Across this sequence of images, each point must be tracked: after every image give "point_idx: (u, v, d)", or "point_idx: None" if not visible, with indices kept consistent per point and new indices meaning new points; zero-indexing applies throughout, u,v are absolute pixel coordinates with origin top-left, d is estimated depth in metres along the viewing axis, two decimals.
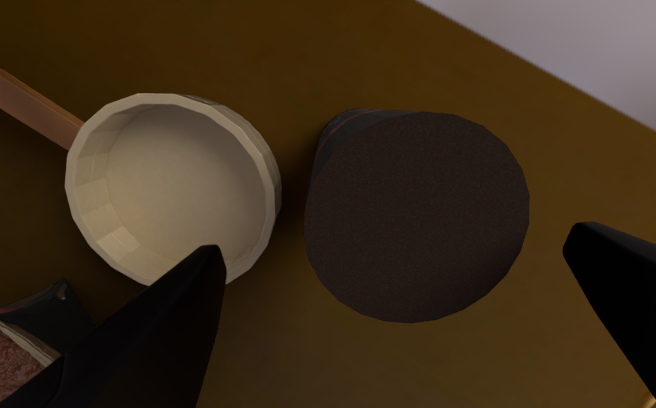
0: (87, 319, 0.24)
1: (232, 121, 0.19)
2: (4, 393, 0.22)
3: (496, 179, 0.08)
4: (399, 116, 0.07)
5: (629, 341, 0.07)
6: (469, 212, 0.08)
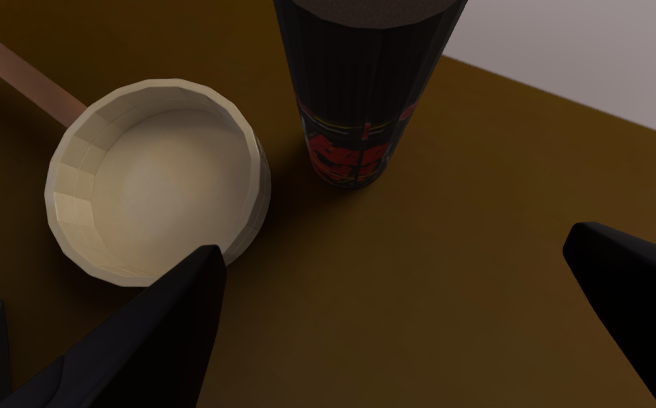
0: (5, 345, 0.19)
1: None
2: None
3: None
4: None
5: (629, 341, 0.07)
6: None
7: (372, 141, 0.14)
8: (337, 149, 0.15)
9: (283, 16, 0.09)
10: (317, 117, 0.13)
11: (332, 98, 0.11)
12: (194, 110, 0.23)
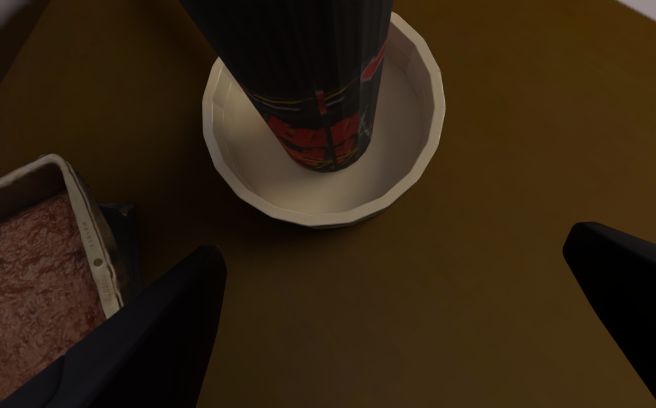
0: (139, 247, 0.18)
1: None
2: None
3: None
4: None
5: (629, 341, 0.07)
6: None
7: (335, 114, 0.11)
8: (298, 131, 0.13)
9: None
10: (257, 94, 0.10)
11: (258, 64, 0.08)
12: None
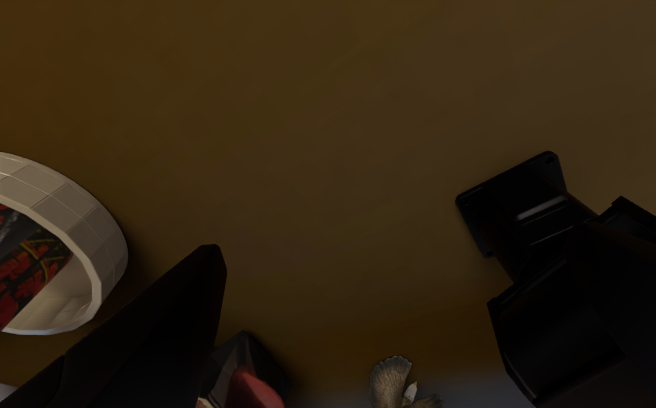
0: None
1: None
2: None
3: None
4: None
5: (629, 341, 0.07)
6: None
7: None
8: None
9: None
10: None
11: None
12: None
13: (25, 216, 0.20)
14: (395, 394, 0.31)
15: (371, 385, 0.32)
